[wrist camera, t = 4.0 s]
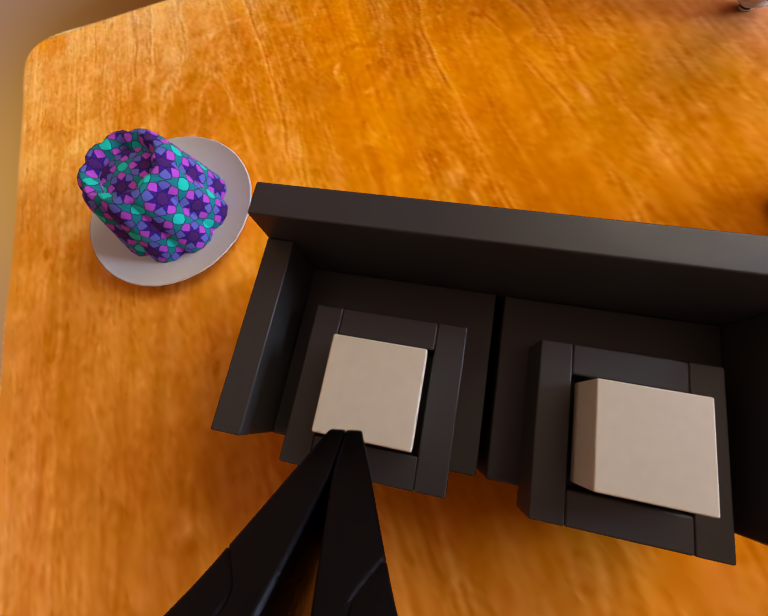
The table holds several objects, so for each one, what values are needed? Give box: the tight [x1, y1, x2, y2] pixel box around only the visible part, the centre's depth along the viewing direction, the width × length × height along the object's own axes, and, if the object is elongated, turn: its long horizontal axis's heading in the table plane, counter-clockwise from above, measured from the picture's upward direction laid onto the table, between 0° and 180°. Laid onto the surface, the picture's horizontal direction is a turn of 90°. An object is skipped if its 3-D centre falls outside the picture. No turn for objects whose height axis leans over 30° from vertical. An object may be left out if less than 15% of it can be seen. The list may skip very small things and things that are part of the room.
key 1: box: [570, 378, 720, 518], centre depth 12 cm, size 4×4×2 cm
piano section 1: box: [477, 296, 736, 565], centre depth 17 cm, size 9×9×7 cm
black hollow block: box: [211, 182, 768, 546], centre depth 16 cm, size 9×21×10 cm, turn 79°
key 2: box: [312, 334, 427, 452], centre depth 14 cm, size 4×4×2 cm
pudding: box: [77, 129, 251, 286], centre depth 24 cm, size 12×12×5 cm
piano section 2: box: [273, 269, 496, 498], centre depth 18 cm, size 9×9×7 cm
